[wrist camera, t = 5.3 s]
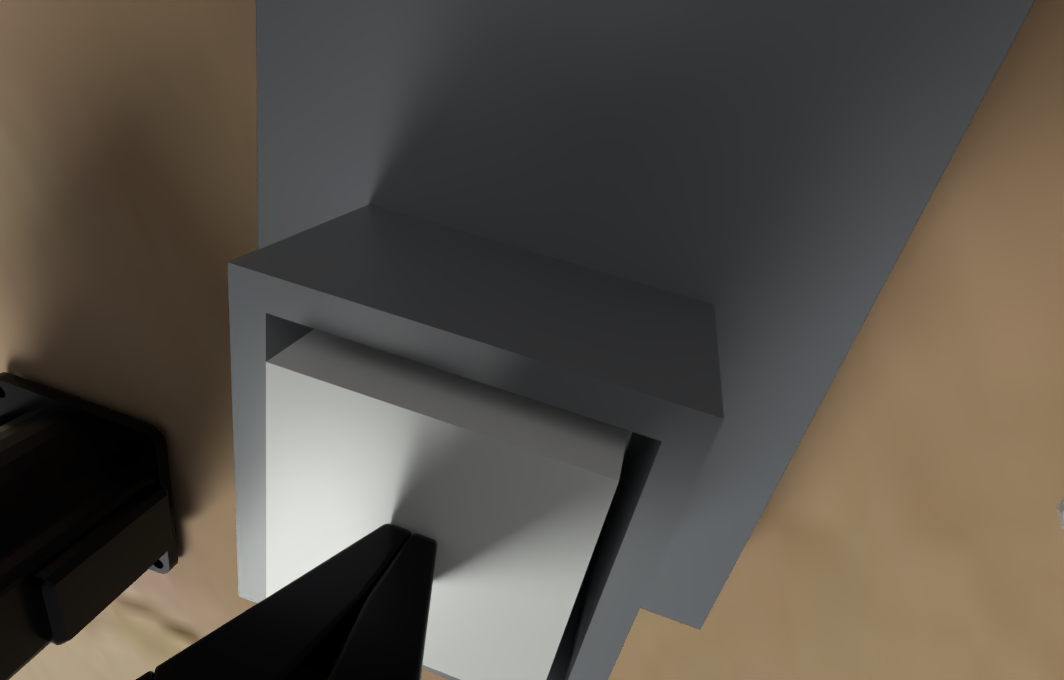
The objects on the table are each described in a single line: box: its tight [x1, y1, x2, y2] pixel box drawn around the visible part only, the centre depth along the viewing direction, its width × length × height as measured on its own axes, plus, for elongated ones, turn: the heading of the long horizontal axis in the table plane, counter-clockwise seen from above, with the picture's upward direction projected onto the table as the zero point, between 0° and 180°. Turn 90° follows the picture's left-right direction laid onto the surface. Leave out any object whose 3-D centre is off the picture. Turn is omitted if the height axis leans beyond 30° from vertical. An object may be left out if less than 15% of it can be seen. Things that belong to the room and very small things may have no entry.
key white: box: [266, 329, 628, 680], centre depth 10 cm, size 5×5×3 cm
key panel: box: [227, 0, 1035, 680], centre depth 9 cm, size 12×22×6 cm, turn 168°
